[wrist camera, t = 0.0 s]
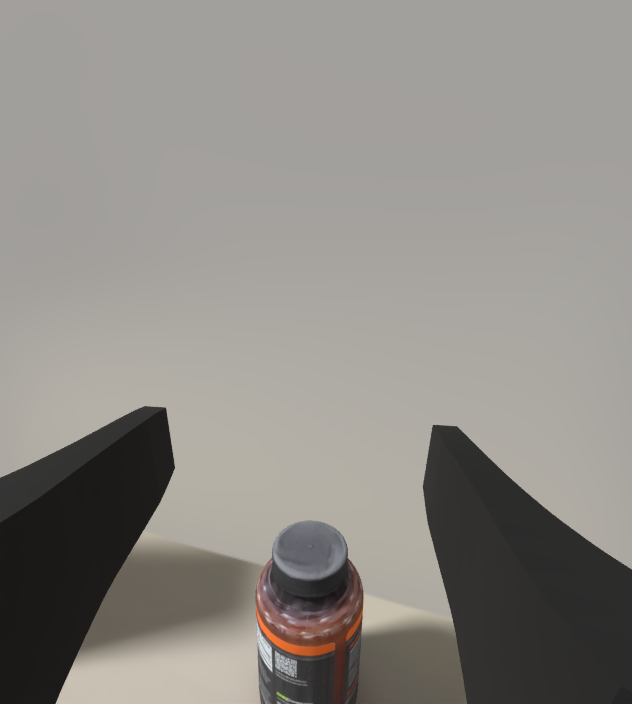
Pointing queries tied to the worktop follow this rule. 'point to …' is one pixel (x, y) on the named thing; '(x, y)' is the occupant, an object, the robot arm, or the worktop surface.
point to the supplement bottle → (309, 619)
